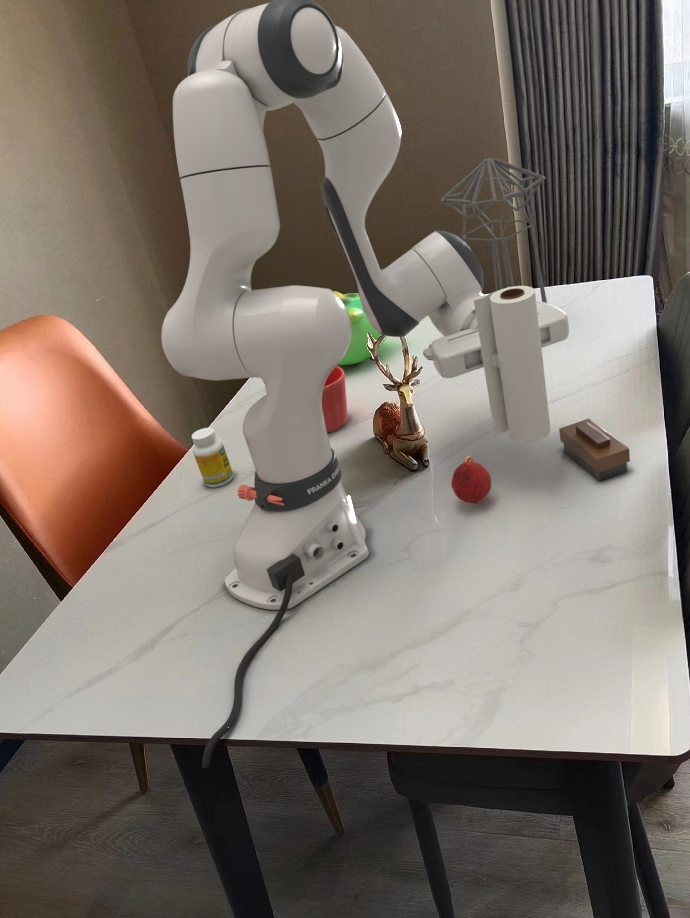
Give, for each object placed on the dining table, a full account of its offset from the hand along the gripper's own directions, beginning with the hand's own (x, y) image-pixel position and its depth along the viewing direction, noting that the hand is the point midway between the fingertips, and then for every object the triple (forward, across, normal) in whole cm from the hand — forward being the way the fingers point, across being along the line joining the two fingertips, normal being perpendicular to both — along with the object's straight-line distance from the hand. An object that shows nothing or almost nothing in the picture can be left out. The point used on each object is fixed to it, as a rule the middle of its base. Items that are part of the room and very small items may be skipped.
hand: (521, 358), depth 119 cm
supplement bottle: (-35, -45, +21) cm, 61 cm away
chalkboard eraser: (-1, +10, +21) cm, 23 cm away
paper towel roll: (-1, 0, +12) cm, 12 cm away
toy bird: (-69, -9, +21) cm, 73 cm away
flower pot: (-43, -23, +21) cm, 53 cm away
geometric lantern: (-56, +22, +21) cm, 64 cm away
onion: (-1, -10, +21) cm, 23 cm away
